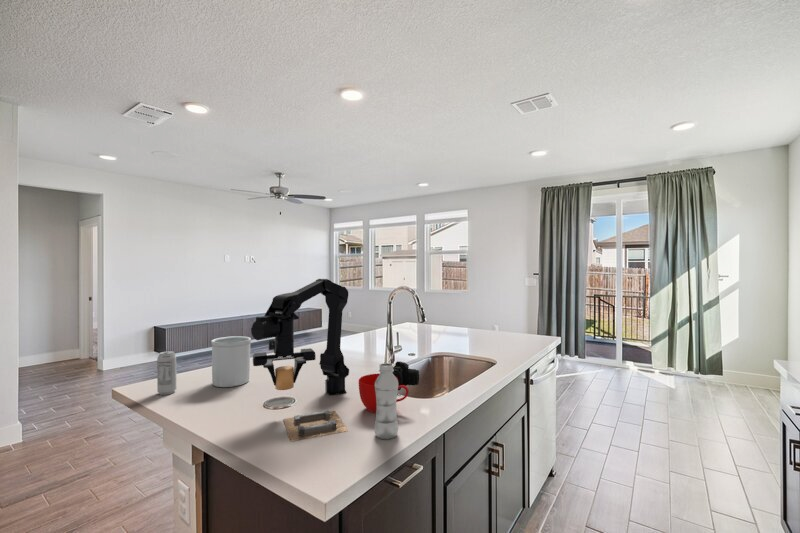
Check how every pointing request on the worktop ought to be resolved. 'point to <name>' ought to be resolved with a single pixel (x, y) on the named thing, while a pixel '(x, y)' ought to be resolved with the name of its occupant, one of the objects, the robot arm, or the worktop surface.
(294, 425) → the socket
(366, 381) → the ceramic cup
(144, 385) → the worktop surface
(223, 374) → the utensil holder
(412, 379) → the film camera
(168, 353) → the energy drink can
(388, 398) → the plastic bottle
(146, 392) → the worktop surface
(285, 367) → the cap
